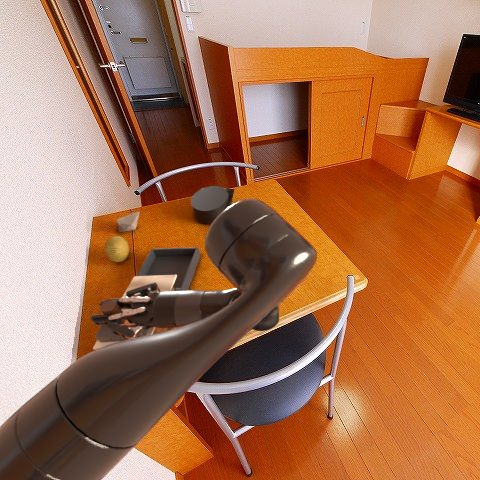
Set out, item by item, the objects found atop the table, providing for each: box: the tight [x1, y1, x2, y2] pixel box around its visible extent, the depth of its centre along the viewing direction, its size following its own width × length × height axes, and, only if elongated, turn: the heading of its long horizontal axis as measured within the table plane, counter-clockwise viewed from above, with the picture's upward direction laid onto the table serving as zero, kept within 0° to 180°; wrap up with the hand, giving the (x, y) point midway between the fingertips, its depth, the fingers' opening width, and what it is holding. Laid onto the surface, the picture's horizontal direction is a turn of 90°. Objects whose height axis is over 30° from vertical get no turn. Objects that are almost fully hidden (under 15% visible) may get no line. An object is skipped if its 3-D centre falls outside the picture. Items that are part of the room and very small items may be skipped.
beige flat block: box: [92, 275, 177, 351], centre depth 68 cm, size 20×11×6 cm, turn 5°
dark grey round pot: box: [190, 185, 236, 226], centre depth 106 cm, size 14×18×8 cm
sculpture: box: [104, 235, 130, 263], centre depth 84 cm, size 8×4×8 cm, turn 8°
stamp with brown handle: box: [94, 300, 149, 342], centre depth 59 cm, size 5×9×9 cm, turn 95°
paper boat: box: [116, 209, 140, 233], centre depth 97 cm, size 12×6×9 cm
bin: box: [135, 246, 202, 291], centre depth 81 cm, size 17×14×3 cm
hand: (97, 312), depth 57 cm, fingers closed on stamp with brown handle, 3 cm apart
